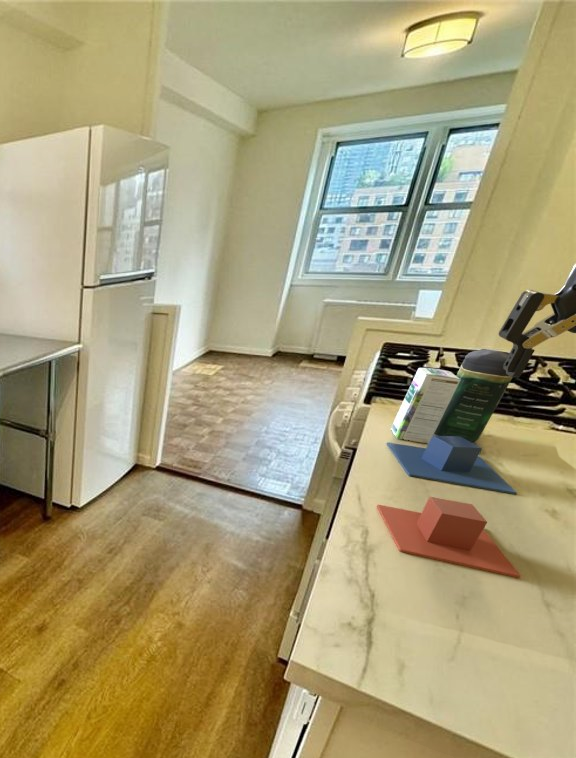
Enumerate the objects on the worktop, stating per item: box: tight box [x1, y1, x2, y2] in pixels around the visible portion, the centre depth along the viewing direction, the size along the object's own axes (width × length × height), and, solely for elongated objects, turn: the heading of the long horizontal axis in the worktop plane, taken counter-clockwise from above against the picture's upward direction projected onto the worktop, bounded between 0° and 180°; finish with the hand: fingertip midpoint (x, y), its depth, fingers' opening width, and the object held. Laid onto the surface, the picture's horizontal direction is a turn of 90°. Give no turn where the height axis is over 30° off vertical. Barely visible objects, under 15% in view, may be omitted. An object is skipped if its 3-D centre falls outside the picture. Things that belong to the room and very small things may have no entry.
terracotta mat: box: [376, 504, 522, 579], centre depth 72 cm, size 13×13×1 cm
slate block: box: [422, 434, 483, 472], centre depth 91 cm, size 5×5×5 cm
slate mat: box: [386, 441, 518, 495], centre depth 92 cm, size 15×15×1 cm
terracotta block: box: [416, 496, 488, 551], centre depth 71 cm, size 5×5×5 cm
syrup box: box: [390, 367, 461, 444], centre depth 101 cm, size 6×6×14 cm
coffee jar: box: [433, 348, 513, 444], centre depth 101 cm, size 10×8×19 cm
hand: (557, 381), depth 61 cm, fingers open, 8 cm apart
